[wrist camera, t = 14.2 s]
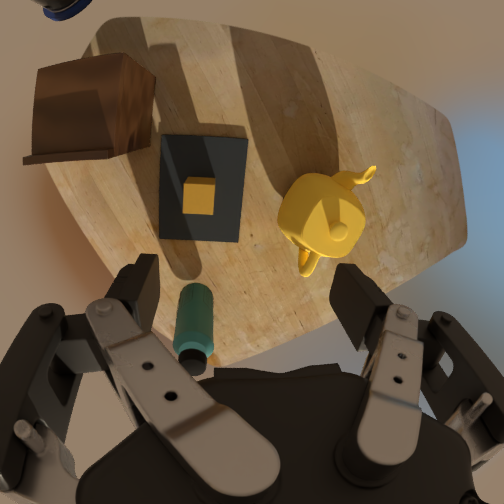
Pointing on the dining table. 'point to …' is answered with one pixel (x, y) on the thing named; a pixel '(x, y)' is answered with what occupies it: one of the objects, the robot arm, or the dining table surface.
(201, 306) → the beverage bottle
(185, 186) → the yellow block
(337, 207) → the teapot
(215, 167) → the slate mat
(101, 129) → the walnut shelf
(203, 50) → the dining table surface
